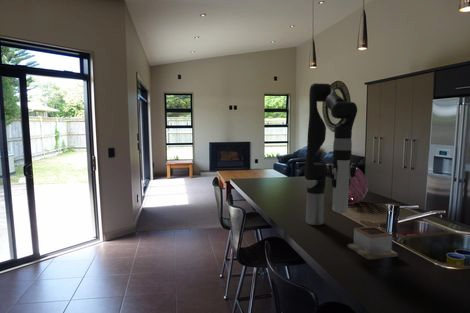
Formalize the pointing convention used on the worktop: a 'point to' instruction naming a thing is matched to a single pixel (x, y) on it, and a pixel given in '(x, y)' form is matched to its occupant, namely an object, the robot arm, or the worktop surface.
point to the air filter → (341, 187)
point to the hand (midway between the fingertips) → (340, 187)
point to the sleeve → (372, 240)
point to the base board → (372, 256)
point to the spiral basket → (355, 186)
